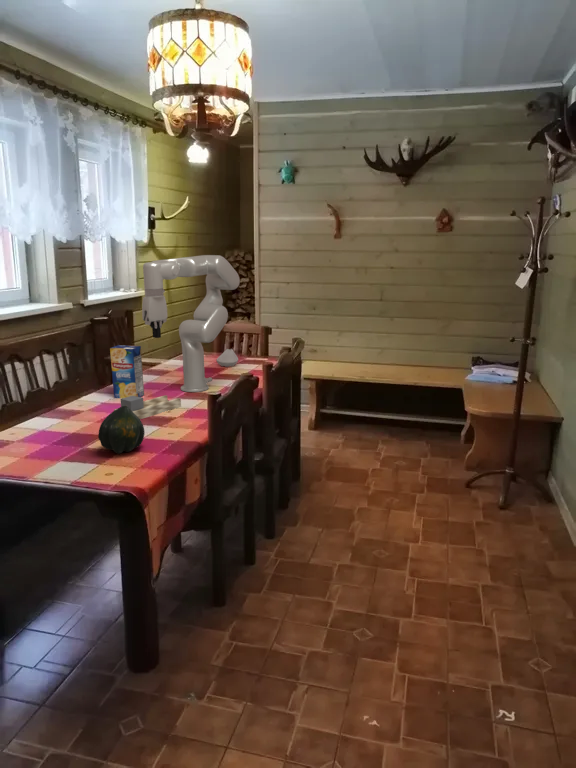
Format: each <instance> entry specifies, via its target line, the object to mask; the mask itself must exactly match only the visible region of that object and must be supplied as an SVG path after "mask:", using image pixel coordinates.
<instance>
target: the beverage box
mask: <svg viewBox="0 0 576 768" xmlns="http://www.w3.org/2000/svg"><path fill="white" fill-rule="evenodd" d="M109 351H110V352H109V353H110V362H111V363H110V364H111V376H112V387H113V398H114V399H122V398H126V397H130V396H137V397H141V398H143V397H144V396H145V389H144V386H145V385H144V375H143V361H142V360H143V358H142V357H143V356H142V346H141V345H124V344H123V345H120V344H118V345H115V346H112V347H109ZM143 395H144V396H143Z"/></svg>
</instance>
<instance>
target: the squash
mask: <svg viewBox="0 0 576 768" xmlns="http://www.w3.org/2000/svg"><path fill="white" fill-rule="evenodd" d="M115 409H116V410H115V411H114V410H113V411H112V412H110V413H109V414H108V415H107V416H106V417H105V418H104V419H103V420H102V422H101V423H100V426H99V429H98V436H97V437H98V441H99V442H100V445H101V446H102V447H103V448H104V449H107V450H113V452H114V453H115V454H118V455H119V454H123V452H126V453H127V452H131V451H133V450H134V449H135V448H136V449H137V448H138V447H140V446H141V444H142V443H143V440H144V438H145V434H146V433H145V428H144V425H143V423H142V419H139V418H138V417H137V416H136V415H135V414H134V413H133V412H132V411H131V410H130V408H129V407H127V406H122V407H121V406H120V407H118V408H115Z"/></svg>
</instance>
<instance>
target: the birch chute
mask: <svg viewBox="0 0 576 768" xmlns="http://www.w3.org/2000/svg"><path fill="white" fill-rule="evenodd" d="M143 404H144V408H143V409H140V410H136V411H133V413H134V414H135V415H136V416H137V417H138V418H139V419H140V420H143V419H145V418H150V417H152V416H155V415H159V414H162V412H163V413H165V411H166V412H169V411H172V410H175V408H176V409H179V408H181V407H182V400H181V398H180V397H178V398H175V399H171V400H168V395H166V394H165V395H162V396H158V397H153V398H151V399H147V400H143ZM178 407H179V408H178ZM116 409H117V408H115V409H113V411H115V410H116ZM171 409H172V410H171ZM168 410H169V411H168Z"/></svg>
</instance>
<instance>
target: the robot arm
mask: <svg viewBox="0 0 576 768" xmlns="http://www.w3.org/2000/svg"><path fill="white" fill-rule="evenodd" d="M142 270H143V271H142V272H143V273H142V274H143V286H144V288H143V289H144V296H143V297H142V305H141V307H142V309H141V312H142V313H141V315H142V321H143V322H144V325H147V326H149V327H150V328H151V329H152V331H151V332H152V338H154V339H159V338H160V339H161V338H162V333H161V328H162V326H163V324H165V323H166V322H167V321H168V320H167V319H168V305H167V301H166V297H165V295H164V293H165V292H166V290H165V289H164V280H171V281H172V280H175V279H177V278H193V277H198V276H204V275H206V276H205V287H206V294H205V296H204V298H203V299H202V300H201V302H200V303H199V304H198V306H197V307H196V308H195V310H194V312H193V319H186V320H183V321H182V322H181V323H180V324H179V327H178V335H179V338H180V342H181V343H180V344H181V351H182V369H183V370H182V371H183V374H182V375H183V385H181V386H180V390H181V391H183V392H187V393H198V392H199V393H200V392H205V391H207V390H209V388H210V387H209V386H210V385H208V383H210V382H213V378H212V377H210V376H209V377H205V376H206V374H205V372H206V371H205V352H204V347H203V344H204V343H205V344H209V343H211V342H213V341H215V339H216V338H217V337H218V335H219V334H220V333H221V331H222V330H223V328H224V327H225V325H226V323H227V321H228V318H229V314H228V309H227V308H226V307H225V306H224V305H223V303H224V299H223V297H222V292H221V290H223V291H224V290H226V291H233V290H236V289H237V288H238V287H239V286H240V283H241V280H240V276H239V274H238V272H237V271H236V269H234V267H233V266H232V264H230V262H229V261H228V260H227V258H225V257H224V256H222V255H220V254H219V255H217V254H216V255H215V254H201V255H195V256H193V255H192V256H187V257H178V258H169V259H167V258H166V259H157V260H151V261H149V262H144V263H143V265H142Z"/></svg>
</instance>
